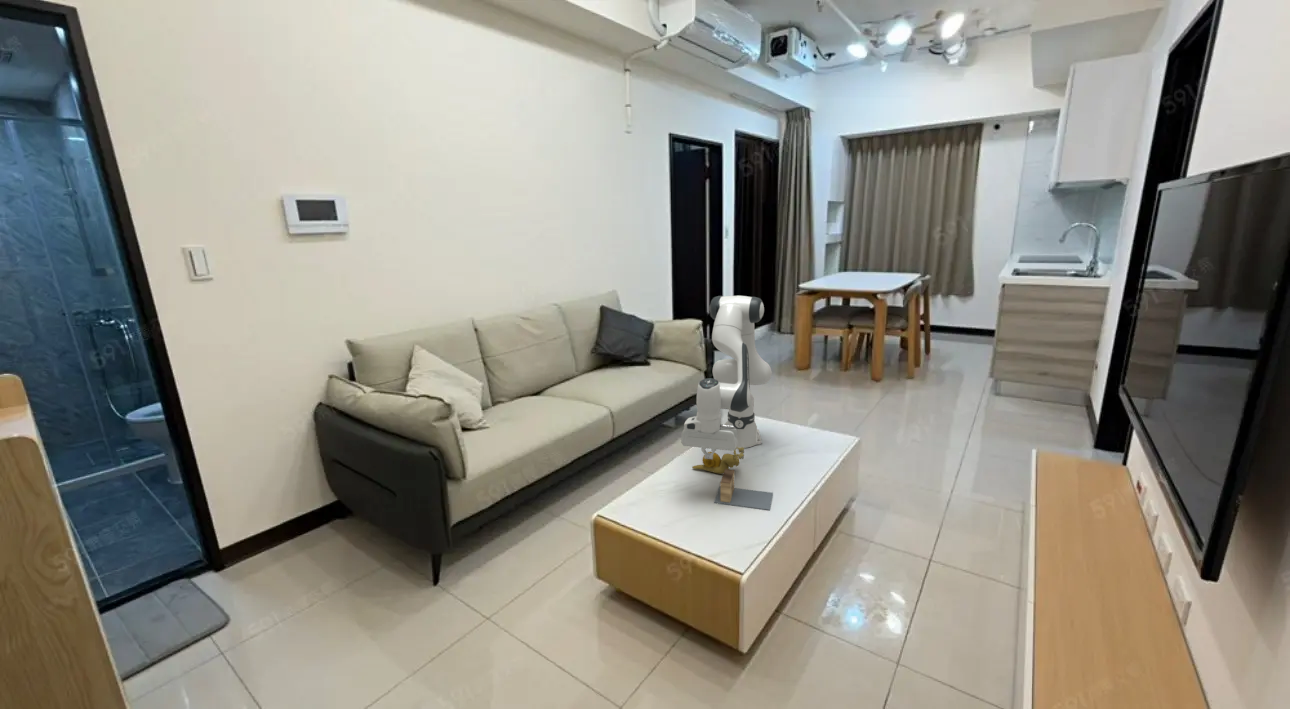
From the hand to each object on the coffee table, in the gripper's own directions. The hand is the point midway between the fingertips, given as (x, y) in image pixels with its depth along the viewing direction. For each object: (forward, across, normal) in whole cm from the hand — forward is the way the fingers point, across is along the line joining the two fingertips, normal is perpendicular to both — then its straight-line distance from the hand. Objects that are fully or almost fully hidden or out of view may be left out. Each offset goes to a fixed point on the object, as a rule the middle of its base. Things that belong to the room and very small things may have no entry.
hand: (708, 458), depth 195 cm
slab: (+14, -7, 0) cm, 16 cm away
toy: (+15, 0, -19) cm, 24 cm away
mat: (+15, -13, 0) cm, 20 cm away
